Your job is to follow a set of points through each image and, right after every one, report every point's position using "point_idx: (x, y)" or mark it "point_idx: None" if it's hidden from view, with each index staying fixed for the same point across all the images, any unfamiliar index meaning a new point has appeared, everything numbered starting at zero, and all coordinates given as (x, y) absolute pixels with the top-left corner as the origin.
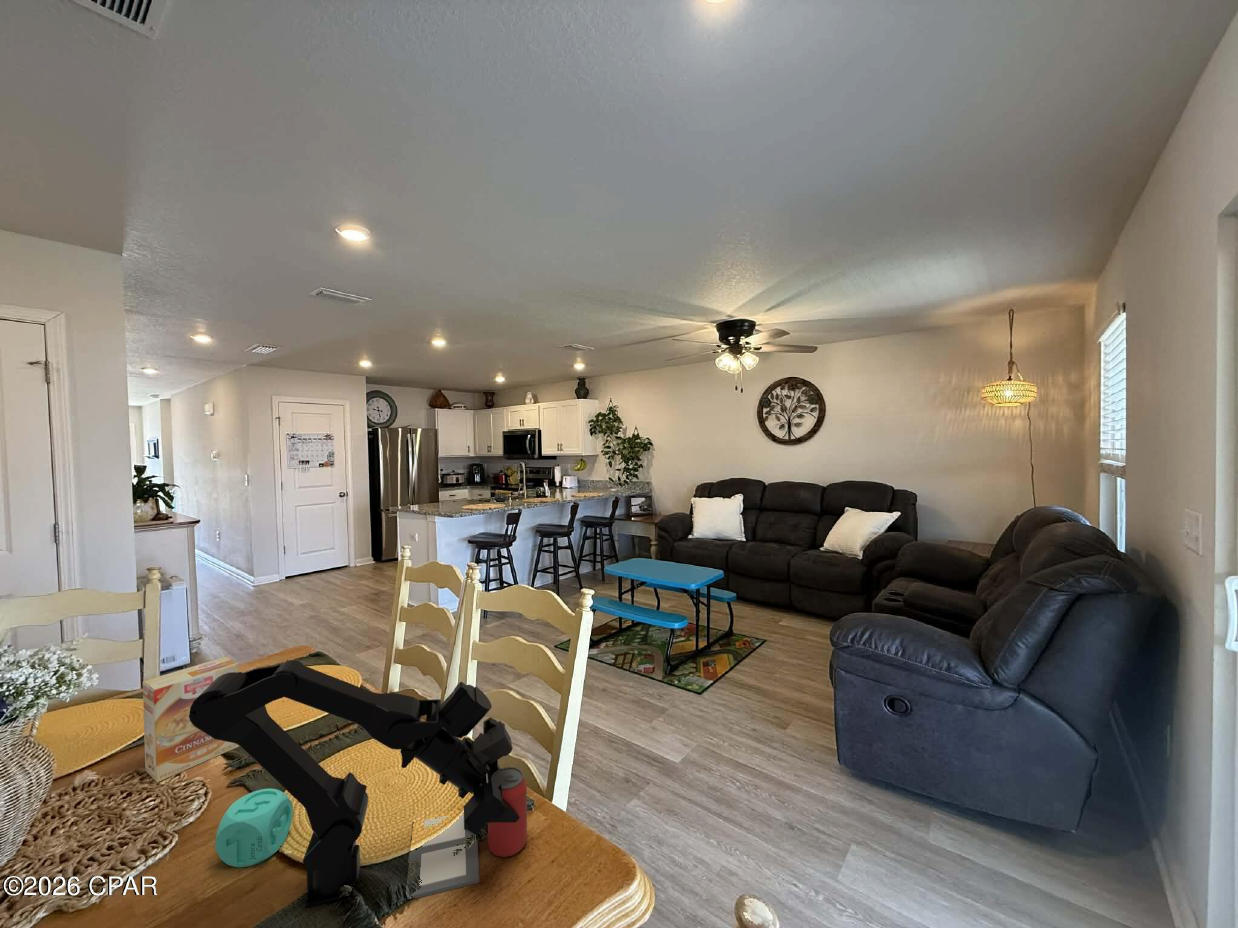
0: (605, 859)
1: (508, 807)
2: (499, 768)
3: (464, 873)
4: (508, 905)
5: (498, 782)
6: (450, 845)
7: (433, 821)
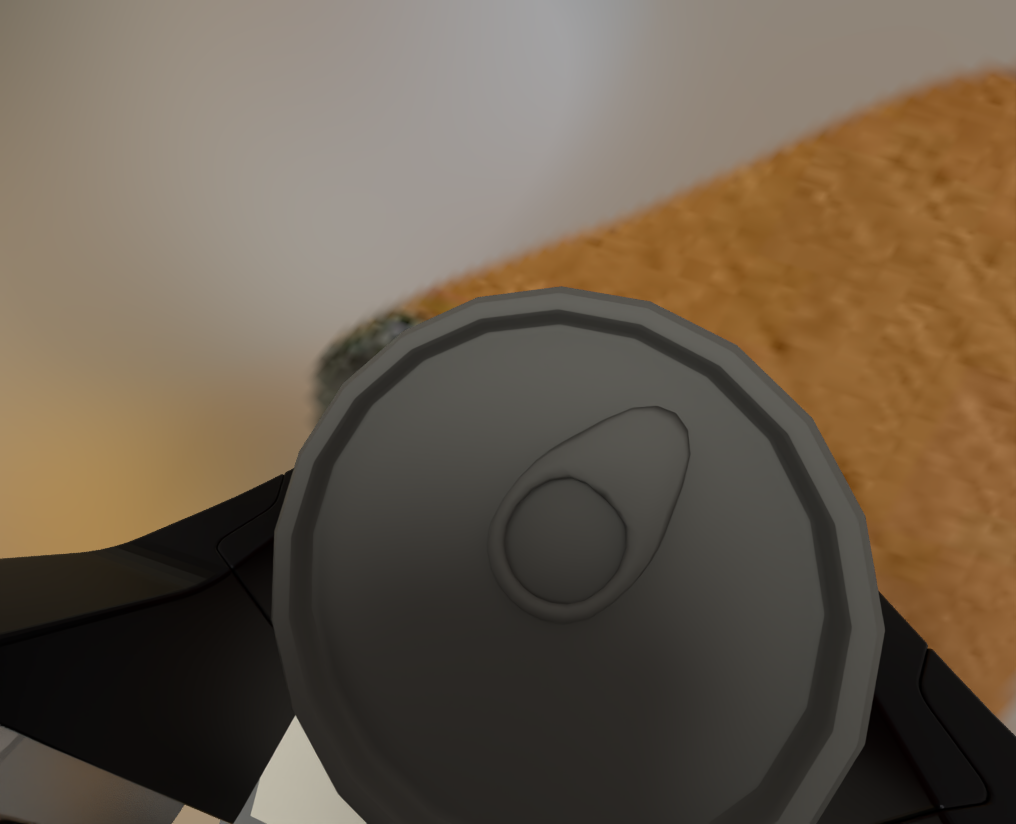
0: (886, 135)
1: (937, 661)
2: (221, 538)
3: None
4: (955, 622)
5: (560, 747)
6: None
7: (283, 776)
